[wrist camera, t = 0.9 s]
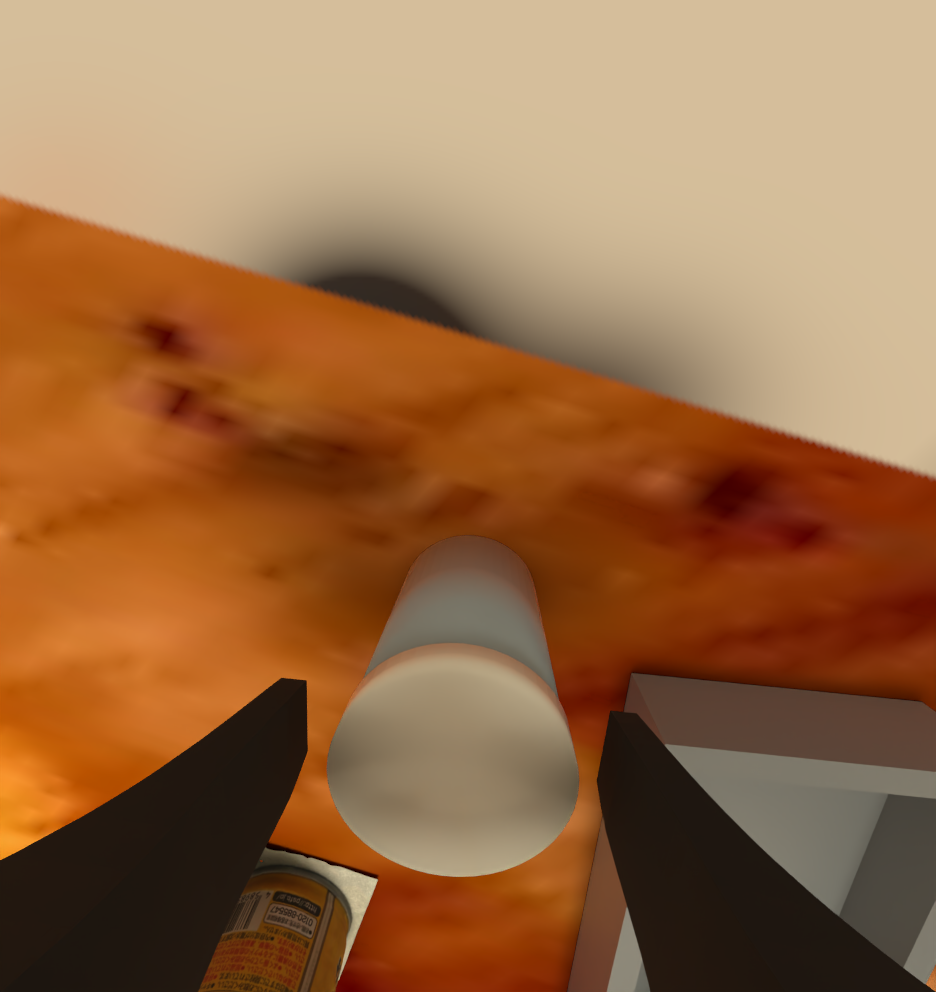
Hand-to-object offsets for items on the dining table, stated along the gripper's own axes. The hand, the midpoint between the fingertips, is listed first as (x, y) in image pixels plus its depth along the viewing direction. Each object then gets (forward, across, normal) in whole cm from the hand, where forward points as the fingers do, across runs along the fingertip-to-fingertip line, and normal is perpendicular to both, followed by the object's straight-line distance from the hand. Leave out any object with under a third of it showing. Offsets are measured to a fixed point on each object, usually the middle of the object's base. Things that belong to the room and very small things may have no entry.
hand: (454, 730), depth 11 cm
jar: (+7, 0, 0) cm, 7 cm away
